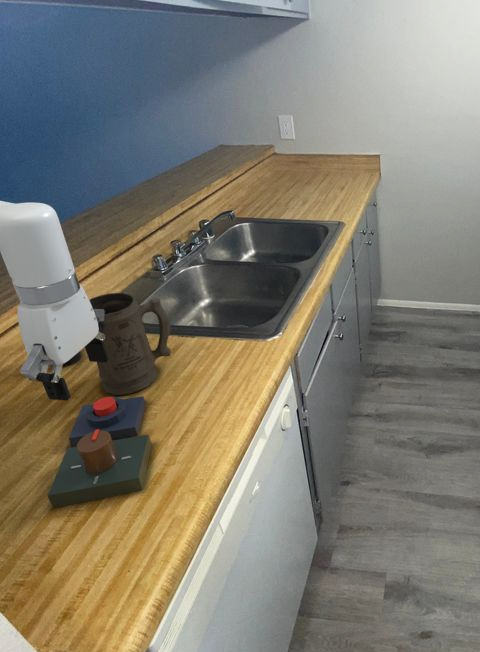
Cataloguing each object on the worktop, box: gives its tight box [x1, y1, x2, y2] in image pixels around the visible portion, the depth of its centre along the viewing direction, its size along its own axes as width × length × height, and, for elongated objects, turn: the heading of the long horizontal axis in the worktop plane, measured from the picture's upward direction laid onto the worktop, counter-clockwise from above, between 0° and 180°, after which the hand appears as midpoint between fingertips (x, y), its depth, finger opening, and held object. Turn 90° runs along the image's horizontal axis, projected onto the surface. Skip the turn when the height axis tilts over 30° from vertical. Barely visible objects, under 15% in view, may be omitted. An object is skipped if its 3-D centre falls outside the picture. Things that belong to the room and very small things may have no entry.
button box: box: [68, 395, 147, 448], centre depth 91 cm, size 11×9×4 cm
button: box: [93, 396, 117, 417], centre depth 90 cm, size 4×4×2 cm
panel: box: [47, 433, 153, 509], centre depth 81 cm, size 13×10×3 cm
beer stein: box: [89, 292, 172, 396], centre depth 101 cm, size 15×11×20 cm
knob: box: [76, 429, 118, 474], centre depth 79 cm, size 5×5×5 cm
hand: (81, 378), depth 78 cm, fingers open, 9 cm apart
